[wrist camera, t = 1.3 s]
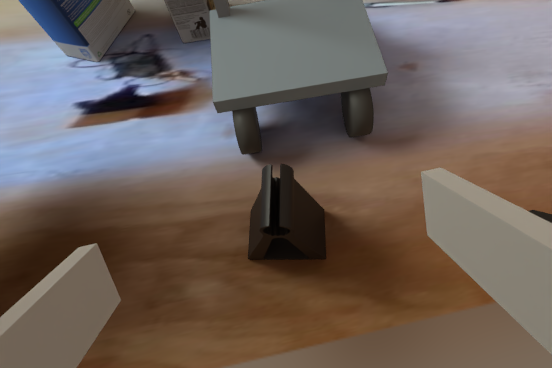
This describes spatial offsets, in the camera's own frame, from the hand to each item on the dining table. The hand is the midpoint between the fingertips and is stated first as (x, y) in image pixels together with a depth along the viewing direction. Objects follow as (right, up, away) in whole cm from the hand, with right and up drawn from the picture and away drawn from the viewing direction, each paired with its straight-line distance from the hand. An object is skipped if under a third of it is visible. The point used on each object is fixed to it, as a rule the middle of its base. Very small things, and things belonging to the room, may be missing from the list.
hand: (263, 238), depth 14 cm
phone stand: (+2, -4, +27) cm, 27 cm away
